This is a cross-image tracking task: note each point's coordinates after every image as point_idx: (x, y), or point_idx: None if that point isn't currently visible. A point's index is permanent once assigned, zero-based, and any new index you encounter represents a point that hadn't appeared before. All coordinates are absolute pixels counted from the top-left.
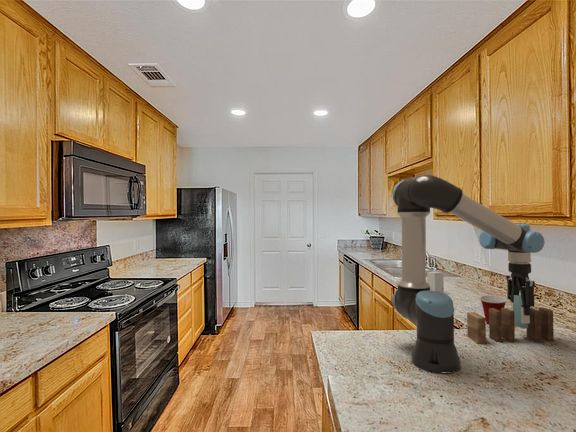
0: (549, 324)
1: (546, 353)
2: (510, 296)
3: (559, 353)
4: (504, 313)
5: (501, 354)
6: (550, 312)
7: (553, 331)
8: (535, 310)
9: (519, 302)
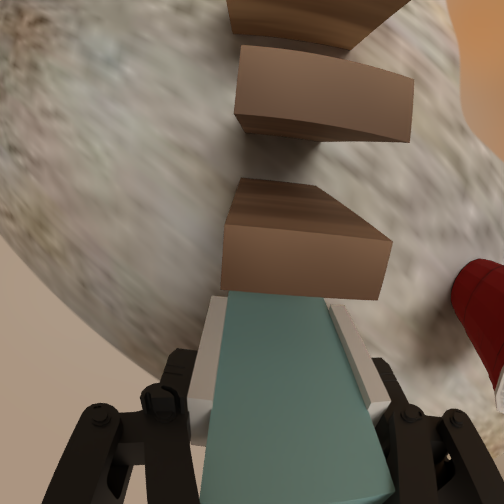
0: None
1: (94, 250)
2: (449, 447)
3: (99, 300)
4: (318, 219)
5: (99, 41)
6: None
7: None
8: None
9: (263, 440)
